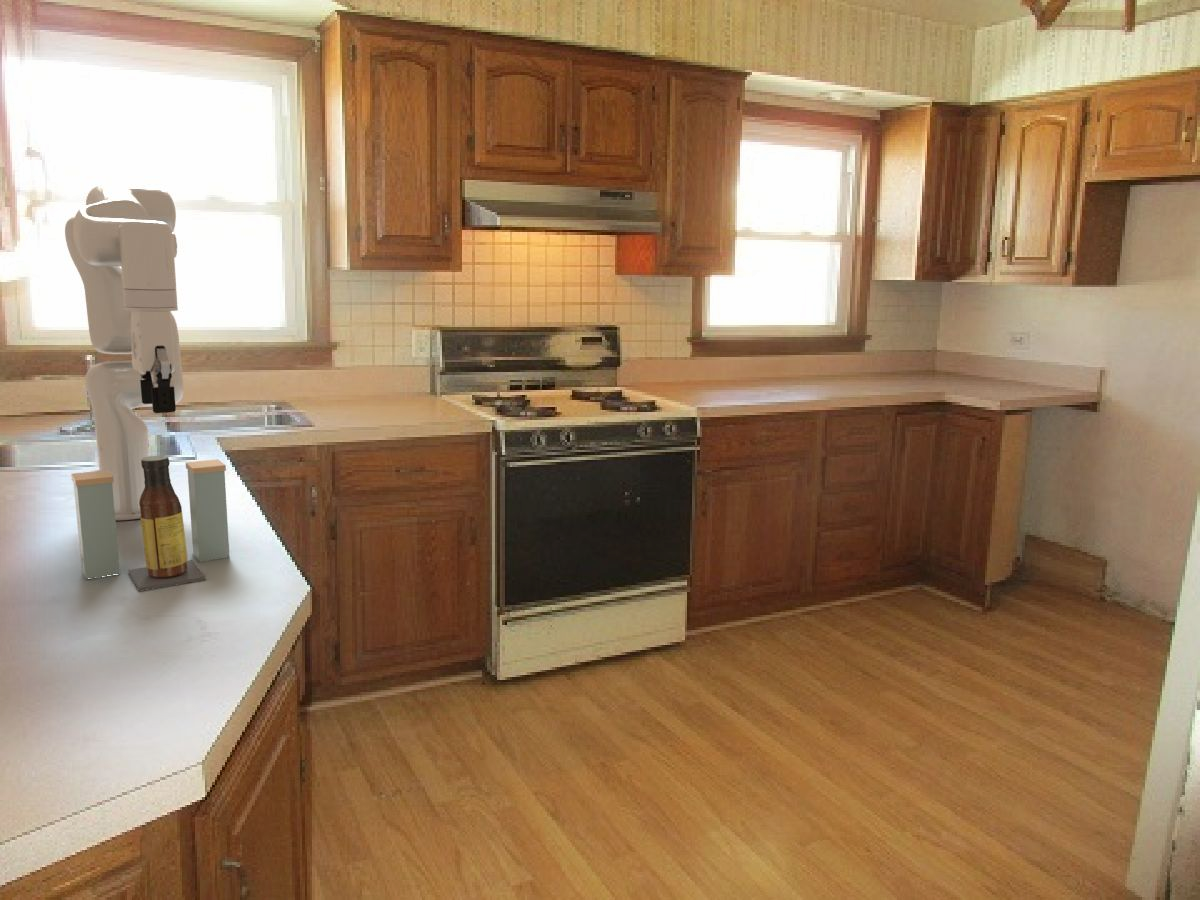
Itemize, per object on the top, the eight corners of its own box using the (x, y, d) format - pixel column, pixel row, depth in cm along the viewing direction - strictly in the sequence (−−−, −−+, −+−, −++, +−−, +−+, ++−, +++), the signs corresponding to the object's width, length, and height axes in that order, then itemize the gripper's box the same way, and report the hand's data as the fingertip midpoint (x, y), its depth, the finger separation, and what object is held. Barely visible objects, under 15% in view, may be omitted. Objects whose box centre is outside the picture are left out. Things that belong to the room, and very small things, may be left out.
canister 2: (191, 554, 159) (185, 462, 155) (223, 549, 162) (217, 459, 158) (198, 562, 154) (192, 468, 151) (230, 557, 158) (225, 465, 154)
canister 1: (80, 571, 148) (71, 473, 145) (116, 565, 152) (108, 470, 148) (84, 580, 144) (75, 480, 141) (121, 574, 147) (113, 476, 144)
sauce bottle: (194, 567, 150) (186, 454, 146) (178, 580, 144) (170, 462, 140) (155, 566, 150) (146, 453, 146) (137, 579, 144) (128, 461, 140)
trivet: (128, 573, 148) (128, 569, 148) (192, 563, 154) (191, 559, 154) (139, 591, 140) (138, 587, 140) (205, 579, 146) (205, 576, 146)
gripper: (115, 297, 143) (124, 401, 147) (133, 304, 130) (142, 418, 133) (166, 298, 148) (172, 398, 151) (188, 304, 134) (195, 414, 138)
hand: (158, 407), depth 142 cm, fingers open, 9 cm apart
